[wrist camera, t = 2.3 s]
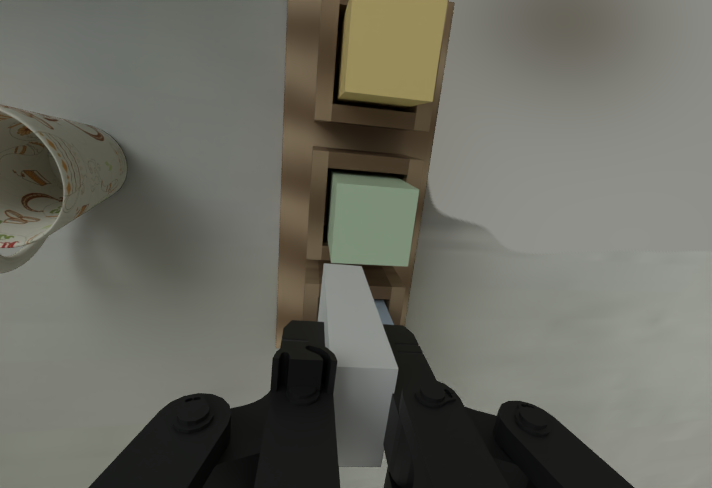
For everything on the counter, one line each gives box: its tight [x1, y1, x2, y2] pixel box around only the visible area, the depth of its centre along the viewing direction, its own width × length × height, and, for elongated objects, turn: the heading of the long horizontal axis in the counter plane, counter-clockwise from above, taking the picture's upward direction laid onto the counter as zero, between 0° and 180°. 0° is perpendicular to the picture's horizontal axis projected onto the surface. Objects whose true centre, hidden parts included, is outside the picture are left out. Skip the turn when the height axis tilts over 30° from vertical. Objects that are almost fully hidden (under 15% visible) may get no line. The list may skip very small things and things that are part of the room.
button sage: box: [327, 170, 419, 267], centre depth 25 cm, size 5×5×7 cm
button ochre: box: [336, 0, 448, 108], centre depth 22 cm, size 5×5×7 cm
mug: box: [0, 105, 127, 273], centre depth 25 cm, size 8×12×10 cm, turn 153°
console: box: [276, 0, 454, 348], centre depth 30 cm, size 32×13×7 cm, turn 174°
